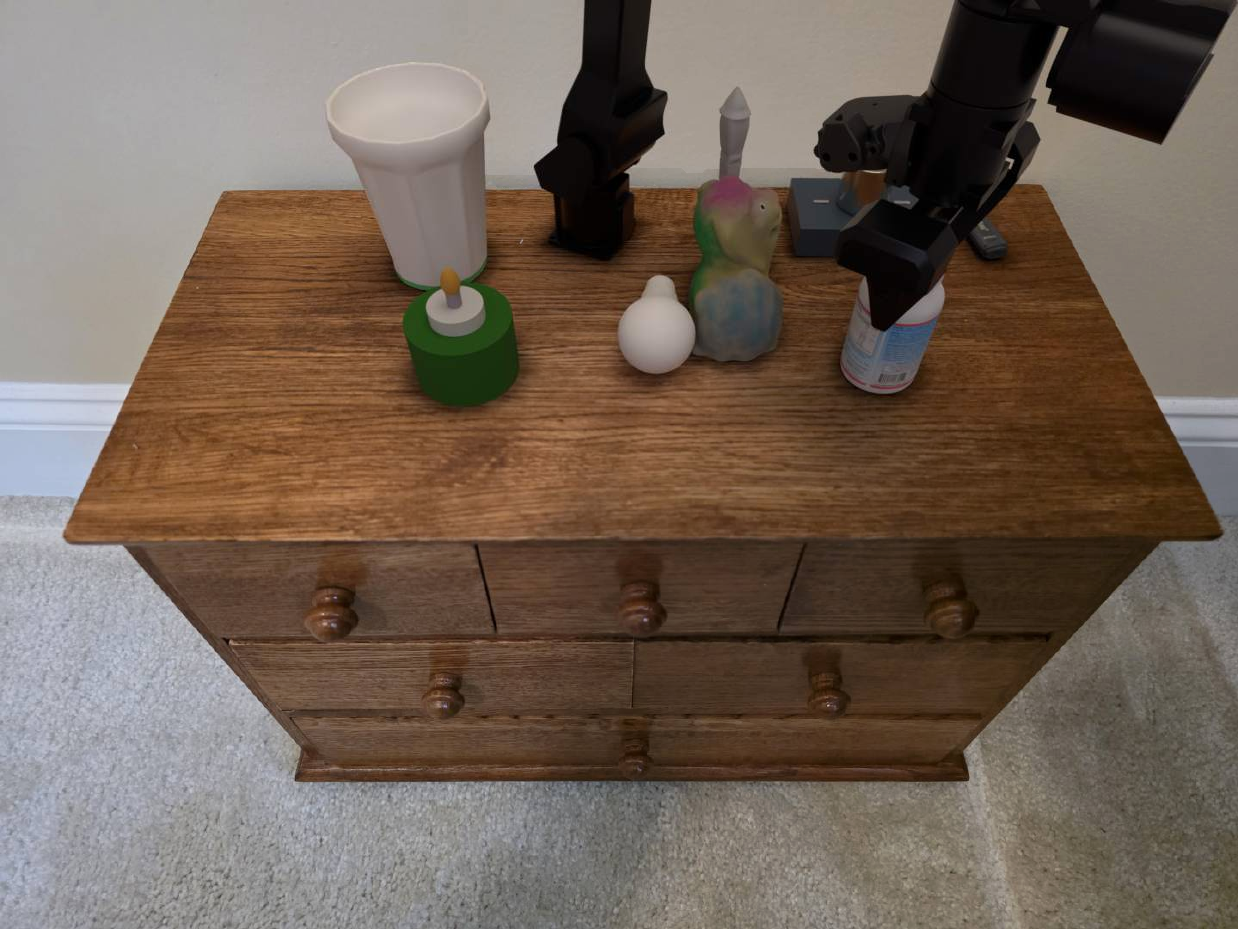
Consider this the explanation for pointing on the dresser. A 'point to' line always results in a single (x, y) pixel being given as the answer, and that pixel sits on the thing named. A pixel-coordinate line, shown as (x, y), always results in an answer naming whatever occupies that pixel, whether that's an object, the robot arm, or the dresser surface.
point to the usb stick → (988, 240)
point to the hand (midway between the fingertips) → (906, 294)
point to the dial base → (824, 214)
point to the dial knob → (861, 189)
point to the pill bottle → (889, 343)
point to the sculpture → (735, 271)
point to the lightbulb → (656, 329)
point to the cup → (419, 163)
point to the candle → (462, 342)
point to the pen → (733, 132)
